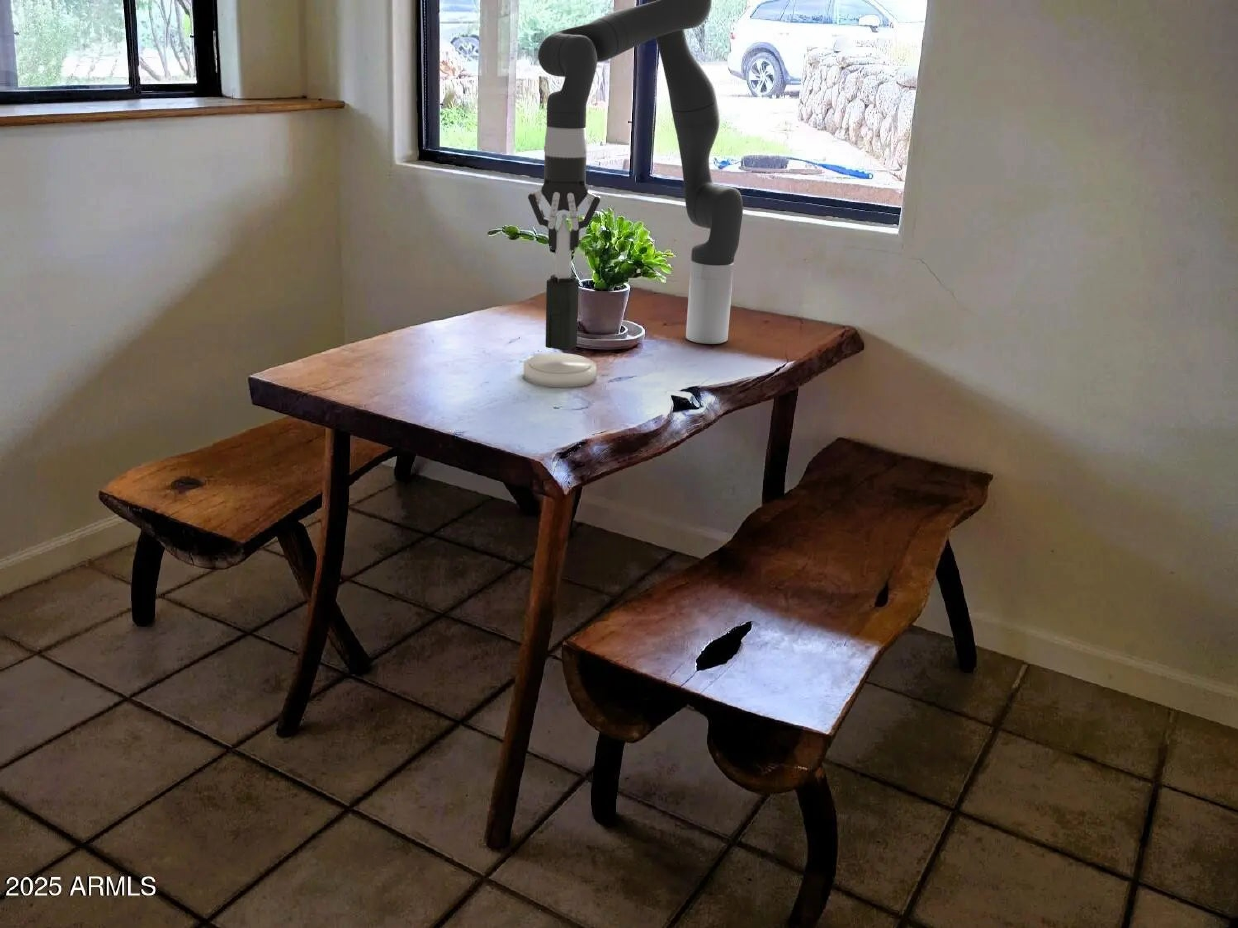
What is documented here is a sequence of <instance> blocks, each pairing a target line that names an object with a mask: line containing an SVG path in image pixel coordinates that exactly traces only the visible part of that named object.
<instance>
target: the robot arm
mask: <svg viewBox="0 0 1238 928" xmlns="http://www.w3.org/2000/svg"><path fill="white" fill-rule="evenodd" d="M712 2H713V1H712V0H647V2H646V3H644V4H640V5H636V6H631V7H627V8H623V9H618V10H615V11H613V12H610V13H608V14H605V15H603V16H601V17H598V18H597V19H594V20H592V21H591V22H589V23H586V24H583V25H578V26H573V27H569V28H565V29H562V30H559V31H556V32H553V33H551V34H550V35H548V36H547V37H545V39H544V40H543V41H542V43H541V44H540V45H539V50H538V55H537V57H538V58H537V59H538V63H539V66H541V67H540V68H541V69H543V71H544V72H545V73H547V74H548V75H550V76H553V77H563V78H564V80H563V82H562V83H563V84H562V87H561V89H560V90H557V91H553V92H551V93H550V94H549V95H548V97H547V101H546V129H545V136H544V137H545V138H544V146H543V152H544V167H543V168H544V170H543V172H544V173H543V185H542V186H541V188H540V190H536V191H531V192H529V194H528V196H527V199H528V201H529V204H530V207H531V209H532V211H533V213H534V215H535V218H536V220H537V222H538V224H539V225H540V226H544V227H546V228H547V229H548V234H547V235H548V236H547V237H548V238H547V239H548V240H547V241H548V247H551V249H552V251H553V250H554V251H556V232H557V230H558V227H557V219H558V216H559V211H565V212H569V217H570V222H571V229H570V231H571V251H576V248H578V247H579V245H580V230H581V229H583V228H588V226H589V225H590V223H591V220H592V218H593V217H594V214H595V213H596V210H597V208H598V207H599V204H600V202H601V200H602V197H601V195H599V194H594V193H592V192H590V191H589V188H588V186H587V183H586V181H587V179H586V177H587V151H588V148H587V147H588V143H587V142H588V139H587V127H586V126H587V103H588V100H589V98H590V97H589V96H590V94H591V89H592V86H593V82H594V78H595V75H596V71H597V66H598V63H601V62H606V61H608V60H609V61H610V59H613V58H615V57H617V56H619V55H621V54H623V53H625V52H627V51H630V50H631V49H634V48H636V47H637V46H639V45H642V44H644V43H647V42H649V41H652V40H655V42H656V45H657V48H658V51H659V52H658V53H659V56H660V59H661V63H662V67H663V71H664V77H665V82H666V87H667V90H668V97H669V102H670V103H669V104H670V108H671V109H670V110H671V114H672V119H673V124H674V129H675V133H676V137H677V144H678V150H679V156H680V162H681V169H682V178H683V179H682V180H683V190H684V191H683V192H684V201H685V209H686V213H687V216H688V218H689V220H690V222H691V223H692V224H694V225H695V226H697V227H700V228H705V229H710V230H709V237H708V240H707V241H706V242H703V243H699V244H696V245H694V246H693V247H692V249H691V255H690V270H689V283H688V285H689V287H688V299H687V300H688V302H687V316H686V331H685V339H686V340H688V341H691V342H693V343H697V344H706V345H707V344H708V345H710V344H711V345H715V344H718V345H719V344H723V343H725V342H727V341H728V337H729V328H730V314H731V304H732V303H731V301H732V292H733V291H732V290H733V280H734V278H733V276H734V264H735V263H734V262H735V256H736V254H737V250H738V247H739V244H740V237H741V230H742V229H741V228H742V222H743V221H742V220H743V213H744V204H743V203H744V202H743V198H742V194H741V192H740V190H738V189H737V188H735V187H733V186H727V185H721V184H716V183H714V182H713V178H712V175H711V167H710V154H711V150H712V148H713V145H714V143H715V140H716V138H717V136H718V132H719V129H720V122H721V120H720V113H719V112H720V110H719V105H718V100H717V94H716V90H715V88H714V86H713V83H712V81H711V80H710V78H709V77H708V75H707V73H706V72H705V71H704V69H703V68H702V66H701V65H700V63H699V62H698V61H697V59H696V58H695V56H694V54H693V53H692V50H691V49H690V46H689V44H688V41H687V36H686V32H685V30H690V29H695V28H698V27H700V26H701V25H702V24H704V23H705V21H706V20H707V19H708V17H709V15H710V12H711V8H712V4H713V3H712ZM542 196H543V197H544V199H545V200H546V202H547V203H548V204H549V206H550V212H549V218H547V217H546V215H545V212H544V210H543V208H542V206H541V202H542V201H543V199H542ZM585 198H586V199H587V202H586V203H587V205H588V206H589V208H588V210H587V212H586V214H585V216H584V219H581V220H580V217H579V216H580V215H579V206H580V205H581V204H582V203H583V201H584V200H585Z"/></svg>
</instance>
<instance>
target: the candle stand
mask: <svg viewBox="0 0 1238 928" xmlns="http://www.w3.org/2000/svg"><path fill="white" fill-rule="evenodd" d="M523 379H524V380H525V381H527V382H529V383H531V384H533V385H535V386H536V385H537V386H540V387H546V388H556V389H570V388H580V387H585V386H587V385H590V384H593V383H594V382H595V381H596V379H597V364H596V362H594V361H593V360H591V359H589V358H587V357H585V356H582V355H579V354H573V353H565V352H550V353H541V354H537V355H534V356H532V357H530V358H528V359H526V360H524V361H523Z"/></svg>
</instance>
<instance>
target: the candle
mask: <svg viewBox="0 0 1238 928" xmlns="http://www.w3.org/2000/svg"><path fill="white" fill-rule="evenodd" d="M561 218H562V219H561V222H560V225H559V227H558V228H557V232H556V250H555V256H554V257H555V262H554V267H555V268H554V274H551V275H550V278H549V279H547V280H546V286H545V287H546V290H545V291H546V295H545V297H546V298H545V299H546V301H545V303H546V304H545V346H544V347H545V348H548V349H554V350H560V351H570V350H572V349H574V348H576V347H577V346H578V328H579V327H578V326H579V325H578V324H579V323H578V322H579V292H580V291H579V289H580V280H579V279H577V278H576V276H575V275H572V250H571V229H570V227H569V224H568V221H567V214H566V213H563V214H562V215H561Z"/></svg>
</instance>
